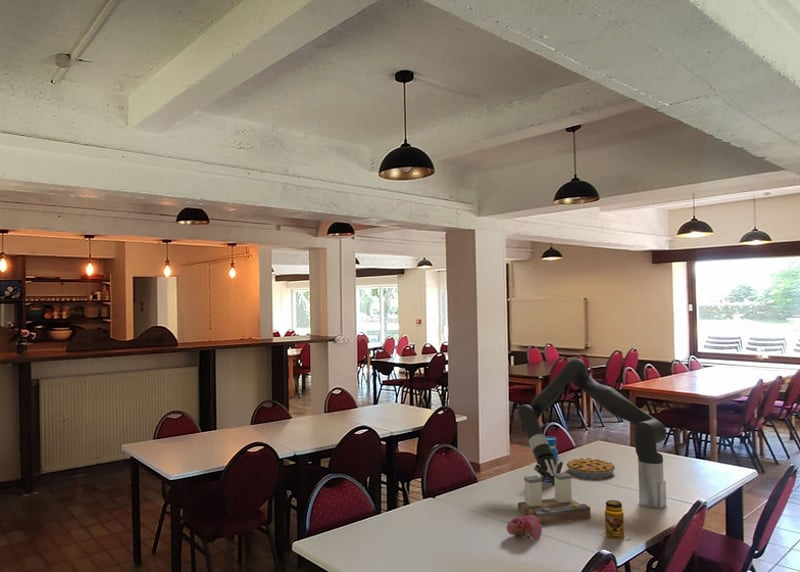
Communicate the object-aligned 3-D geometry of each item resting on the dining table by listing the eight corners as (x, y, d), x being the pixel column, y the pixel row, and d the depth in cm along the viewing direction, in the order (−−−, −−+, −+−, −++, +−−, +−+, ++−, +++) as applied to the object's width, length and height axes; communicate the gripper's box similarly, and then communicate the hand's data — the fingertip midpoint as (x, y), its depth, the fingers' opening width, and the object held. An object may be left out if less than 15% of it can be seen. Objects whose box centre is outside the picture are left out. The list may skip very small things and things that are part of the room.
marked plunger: (554, 499, 229) (553, 473, 229) (566, 498, 231) (565, 472, 231) (560, 503, 225) (559, 476, 225) (572, 501, 226) (571, 475, 227)
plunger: (524, 503, 226) (524, 476, 226) (537, 501, 227) (536, 475, 227) (530, 507, 221) (529, 480, 222) (542, 505, 223) (542, 478, 223)
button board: (517, 510, 227) (517, 498, 227) (567, 504, 233) (566, 492, 233) (538, 525, 212) (538, 512, 212) (590, 517, 218) (590, 505, 218)
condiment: (612, 542, 196) (611, 506, 196) (597, 533, 204) (596, 498, 204) (630, 539, 198) (629, 503, 198) (614, 530, 206) (613, 496, 206)
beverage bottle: (561, 485, 257) (560, 440, 258) (542, 485, 257) (541, 440, 258) (556, 479, 266) (555, 435, 266) (538, 479, 266) (537, 435, 266)
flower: (511, 542, 205) (520, 515, 209) (537, 552, 198) (546, 523, 203) (499, 533, 197) (508, 504, 201) (526, 542, 191) (535, 512, 195)
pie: (557, 470, 281) (557, 460, 281) (591, 464, 290) (591, 454, 290) (589, 482, 261) (589, 471, 261) (625, 475, 270) (625, 465, 270)
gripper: (551, 451, 248) (568, 488, 236) (523, 454, 245) (539, 492, 233) (557, 441, 243) (574, 479, 231) (529, 444, 240) (545, 482, 228)
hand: (556, 485), depth 232 cm, fingers closed
